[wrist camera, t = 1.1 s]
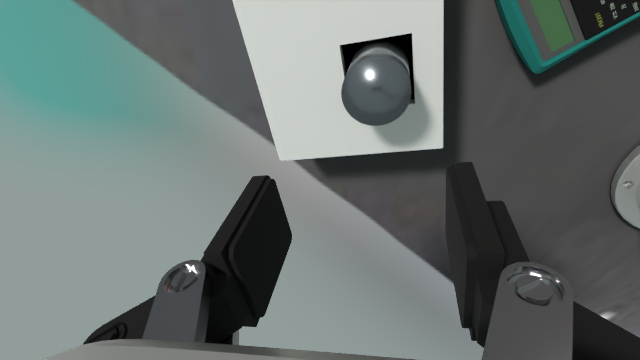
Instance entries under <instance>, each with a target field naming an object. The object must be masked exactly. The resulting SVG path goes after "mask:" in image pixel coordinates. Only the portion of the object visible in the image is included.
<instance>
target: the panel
mask: <svg viewBox="0 0 640 360" xmlns="http://www.w3.org/2000/svg"><path fill="white" fill-rule="evenodd" d="M233 4H234V7H235V11H236V14H237V17H238V21H239V24H240V27H241V31H242V34H243V38H244V41H245V44H246V48H247V51H248V54H249V58H250V61H251V65H252V68H253V71H254V75H255V78H256V82H257V85H258V88H259V92H260V95H261V98H262V102H263V105H264V109H265V112H266V115H267V119H268V122H269V125H270V129H271V132H272V136H273V139H274V142H275V146H276V149H277V153H278V156H279V159H280V161H286V160H299V159H311V158H324V157H337V156H350V155H362V154H375V153H388V152H401V151H413V150H426V149H439V148H443V17H444V0H233ZM410 33H412V54H413V77H414V99H410V102H409V105H408V107H407V108H406V110H405V111H404V113H403V114H402V115H401V116H400V117H399V118H397V119H396V120H395V121H393V122H391V123H388V124H385V125H381V126H370V125H365V124H362V123H360V122H358V121H357V120H355V119H354V118H352V117H351V116H350V115H349V113H348V112H347V111H346V109H345V107H344V105H343V102H342V97H341V89H342V84H343V81H344V79H345V76H346V70H345V64H344V57H343V50H342V45H344V44H350V43H356V42H362V41H368V40H374V39H380V38H386V37H392V36H398V35H404V34H410Z"/></svg>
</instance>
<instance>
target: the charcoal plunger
mask: <svg viewBox="0 0 640 360" xmlns="http://www.w3.org/2000/svg"><path fill="white" fill-rule="evenodd" d="M341 97H342V102H343V105H344V107H345V109H346V111H347V112H348V113H349V115H350V116H351V117H352V118H354V119H355V120H357V121H358V122H360V123H362V124H365V125H370V126H381V125H385V124H388V123H391V122H393V121H395V120H396V119H397V118H399V117H400V116H401V115H402V114H403V113H404V111H405V110H406V108H407V107H408V105H409V102H410V99H411V82H410V73H409V64H408V59H407V56H406V54H405V52H404V50H403V49H402V48H401V47H400V46H399V45H398V44H396V43H395V42H393V41H390V40H386V39H376V40H372V41H369V42H367V43H365V44H364V45H362V46H361V47H360V48H359V49H358V50H357V52H356V53H355V55H354V57H353V59H352V61H351V64H350V66H349V69H348V71H347V74H346V76H345V79H344V81H343V84H342V89H341Z"/></svg>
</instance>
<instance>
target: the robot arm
mask: <svg viewBox="0 0 640 360" xmlns="http://www.w3.org/2000/svg"><path fill="white" fill-rule="evenodd" d="M610 194H611V199H612V203H613V205H614V207H615V208H616V210H617V211H618V212H619V214H620V215H621V216H622V217H623V218H624V219H625V220H626V221H628V222H629V223H630V224H631V225H633V226H635V227H637V228H639V229H640V145H639V146H638V147H637V148H635V149H634V150H633V151H632V152H631V153H630V154H629V155H628V156H627V157H626V158H625V160H624V161H623V162H622V163H621V165H620V166H619V168H618V169H617V171H616V173H615V175H614V178H613V180H612V183H611V192H610ZM291 240H292V233H291V230H290V227H289V223H288V221H287V217H286V214H285V211H284V208H283V204H282V201H281V198H280V195H279V192H278V189H277V185H276V182H275V180H274V179H271V178H270V177H269V176H267V175H266V176H254V177H252V178H251V180H250V181H249V183H248V185H247V186H246V188H245V189H244V191H243V192H242V194H241V196H240V197H239V199H238V200H237V202H236V203H235V205H234V207H233V208H232V210H231V211H230V213H229V214H228V216H227V217H226V219H225V221H224V222H223V224H222V225H221V227H220V228H219V230H218V231H217V233H216V235H215V236H214V238H213V239H212V241H211V243H210V244H209V246H208V247H207V249H206V250H205V252H204V256H203V258H202V259H201V261H199V260H190V261H185V262H182V263H180V264H178V265H176V266H174V267H173V268H172V269H170V270H169V271H168V272H167V273H166V274H165V275H164V276H163V278H162V279H161V281H160V283H159V287H158V290H157V293H156V295H155V296H154V297H152V298H150V299H148V300H147V301H145V302H143V303H141V304H140V305H138V306H136V307H134V308H132V309H131V310H129V311H127V312H125V313H124V314H122V315H120V316H118V317H116V318H115V319H113V320H111V321H110V322H108V323H106V324H104V325H103V326H101V327H100V328H98V329H97V330H96V331H94V332H93V333H92V334H91V335H90V336H89V337H88V338H87V340H86V341H85V342H84V343H83V345H80V346H77V347H74V348H71V349H68V350H64V351H62V352H59V353H57V354H55V355H52V356H50V357H48V358H46V359H44V360H414V359H402V358H390V357H378V356H366V355H355V354H342V353H330V352H317V351H305V350H293V349H279V348H267V347H254V346H240V345H239V329H240V328H242V326H248V327H256V326H257V324H258V321H259V318H260V317H263V316H264V315H265V313H266V310H267V307H268V304H269V302H270V299H271V296H272V293H273V291H274V288H275V285H276V282H277V279H278V277H279V274H280V271H281V269H282V266H283V263H284V260H285V257H286V255H287V252H288V249H289V246H290V244H291ZM446 240H447V246H448V252H449V258H450V263H451V269H452V275H453V280H454V286H455V291H456V297H457V303H458V308H459V314H460V320H461V325H462V328H469V330H470V335H471V340H473V341H477V343H478V344H480V345H481V346H482V347H483V348H484V352H483V356H482V360H640V338H639V337H637V336H635V335H633V334H632V333H630V332H628V331H626V330H624V329H623V328H621V327H619V326H617V325H615V324H614V323H612V322H610V321H608V320H606V319H605V318H603V317H601V316H599V315H597V314H596V313H594V312H592V311H590V310H588V309H587V308H585V307H583V306H581V305H579V304H578V303H576V302H574V301H573V291H572V287H571V285H570V284H569V283H568V281H567V280H566V279H565V278H564V277H563V276H562V275H561V274H560V273H559V272H557V271H555V270H553V269H551V268H550V267H548V266H545V265H542V264H539V263H533V262H530V261H529V259H528V257H527V254H526V252H525V250H524V247H523V245H522V243H521V240H520V238H519V236H518V234H517V231H516V229H515V227H514V224H513V222H512V220H511V217H510V215H509V213H508V210H507V208H506V206H505V204H504V202H503V201H486V199H485V196H484V194H483V191H482V188H481V186H480V183H479V180H478V177H477V175H476V172H475V169H474V166H473V164H472V162H461V163H453V167H452V168H446Z"/></svg>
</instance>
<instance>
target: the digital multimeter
mask: <svg viewBox="0 0 640 360" xmlns="http://www.w3.org/2000/svg"><path fill="white" fill-rule="evenodd" d="M495 3H496V6H497V9H498V12H499V14H500V17H501V19H502V22H503V24H504V27H505V29H506V31H507V33H508V36H509V38H510V40H511V42H512V43H513V45H514V47H515V49H516V51H517V52H518V54H519V56H520V57H521V59H522V61H523V62H524V64H525V65H526V66H527V67H528V68H529V69H530V70H531V71H532V72H534V73H536V74H539V73H542V72H544V71H546V70H547V69H549V68H551V67H552V66H554V65H556V64H558V63H559V62H561V61H563V60H564V59H566V58H568V57H570V56H571V55H573V54H575V53H576V52H578V51H580V50H581V49H583V48H585V47H587V46H588V45H590V44H592V43H593V42H595V41H597V40H599V39H600V38H602V37H604V36H606V35H608V34H609V33H611V32H613V31H615V30H617V29H619V28H620V27H622V26H624V25H626V24H628V23H629V22H631V21H633V20H635V19H637V18H638V17H640V0H495Z"/></svg>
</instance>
